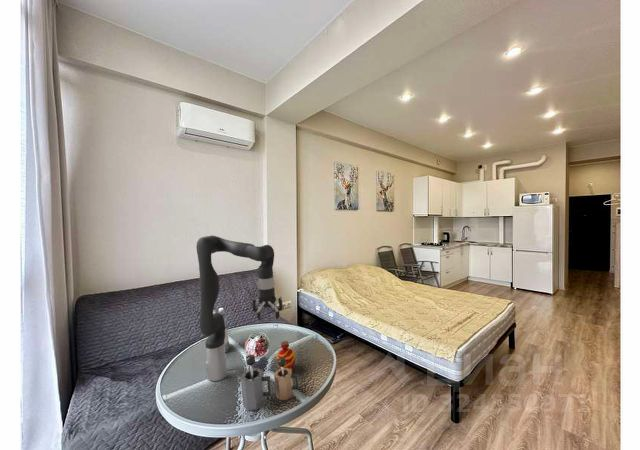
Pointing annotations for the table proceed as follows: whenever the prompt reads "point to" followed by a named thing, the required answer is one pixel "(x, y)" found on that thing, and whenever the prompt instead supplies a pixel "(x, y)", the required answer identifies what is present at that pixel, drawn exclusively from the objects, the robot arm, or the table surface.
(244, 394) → the steel press carafe
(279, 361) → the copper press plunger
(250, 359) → the steel press plunger
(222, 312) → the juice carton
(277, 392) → the tan handled cylinder
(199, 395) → the table surface
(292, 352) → the potion bottle
